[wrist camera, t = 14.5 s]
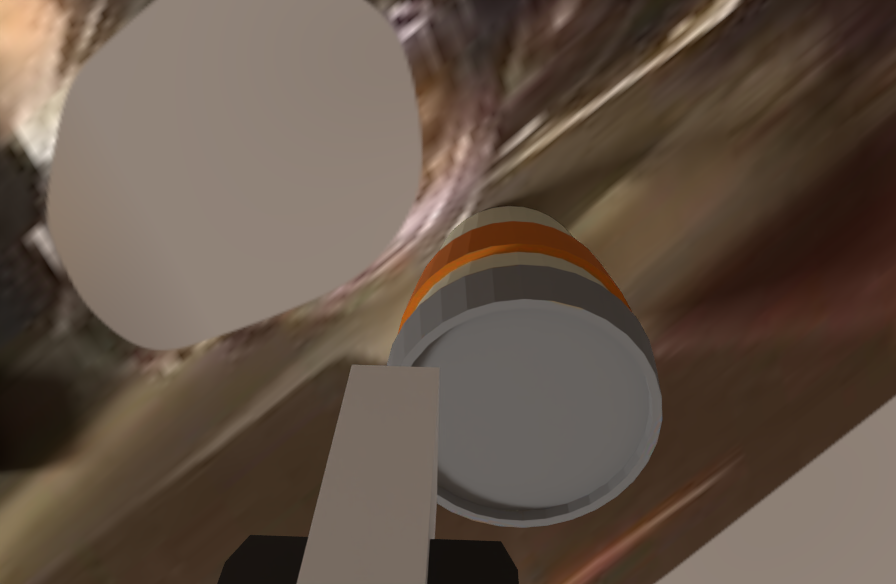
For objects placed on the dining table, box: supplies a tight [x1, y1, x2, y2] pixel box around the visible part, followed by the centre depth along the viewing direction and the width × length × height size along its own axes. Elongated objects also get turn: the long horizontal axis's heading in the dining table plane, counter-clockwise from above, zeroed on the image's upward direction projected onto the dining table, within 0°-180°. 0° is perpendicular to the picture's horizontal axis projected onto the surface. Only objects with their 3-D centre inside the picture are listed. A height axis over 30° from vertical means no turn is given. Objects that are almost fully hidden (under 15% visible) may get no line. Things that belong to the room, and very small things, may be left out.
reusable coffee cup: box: [387, 206, 662, 527], centre depth 42 cm, size 13×13×15 cm
